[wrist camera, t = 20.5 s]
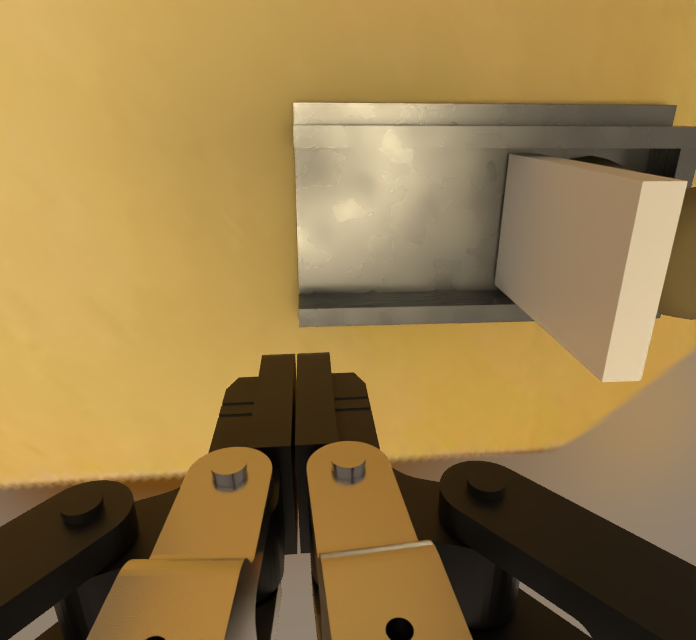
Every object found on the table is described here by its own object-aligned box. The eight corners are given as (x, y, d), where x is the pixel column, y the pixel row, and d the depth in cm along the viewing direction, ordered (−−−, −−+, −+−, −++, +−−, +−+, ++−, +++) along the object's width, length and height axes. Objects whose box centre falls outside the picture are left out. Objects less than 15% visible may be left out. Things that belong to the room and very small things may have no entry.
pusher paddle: (509, 153, 28) (643, 181, 17) (536, 153, 28) (687, 181, 17) (494, 284, 30) (601, 381, 20) (519, 283, 31) (640, 380, 20)
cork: (649, 225, 30) (826, 285, 20) (555, 284, 31) (678, 369, 21) (608, 132, 28) (783, 144, 18) (508, 197, 29) (621, 245, 19)
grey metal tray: (293, 102, 27) (292, 101, 24) (664, 105, 29) (710, 104, 25) (300, 320, 32) (299, 344, 28) (621, 312, 33) (656, 334, 30)
